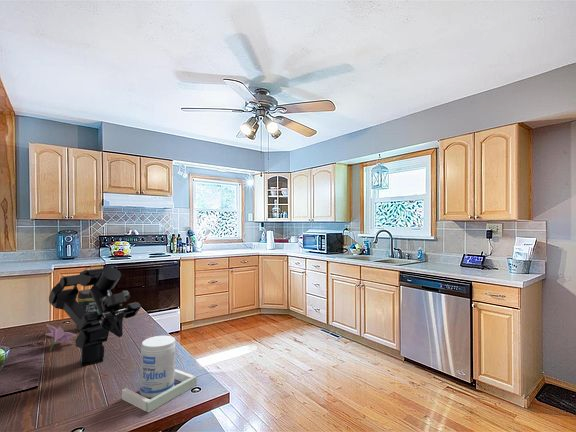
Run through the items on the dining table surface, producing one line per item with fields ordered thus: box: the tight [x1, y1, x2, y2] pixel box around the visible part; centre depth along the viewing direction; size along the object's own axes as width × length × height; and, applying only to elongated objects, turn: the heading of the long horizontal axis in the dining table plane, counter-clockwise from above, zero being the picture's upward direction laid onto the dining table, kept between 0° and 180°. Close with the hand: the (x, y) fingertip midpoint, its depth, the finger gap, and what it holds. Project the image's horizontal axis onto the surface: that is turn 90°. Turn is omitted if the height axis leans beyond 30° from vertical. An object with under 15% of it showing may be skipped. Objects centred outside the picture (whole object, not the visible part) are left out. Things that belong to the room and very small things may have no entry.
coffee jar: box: [75, 288, 100, 332], centre depth 146 cm, size 10×8×19 cm
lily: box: [45, 323, 78, 352], centre depth 123 cm, size 12×12×10 cm
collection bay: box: [121, 368, 198, 413], centre depth 91 cm, size 12×16×2 cm
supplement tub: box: [139, 335, 176, 399], centre depth 92 cm, size 10×10×15 cm
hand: (120, 336), depth 102 cm, fingers closed
